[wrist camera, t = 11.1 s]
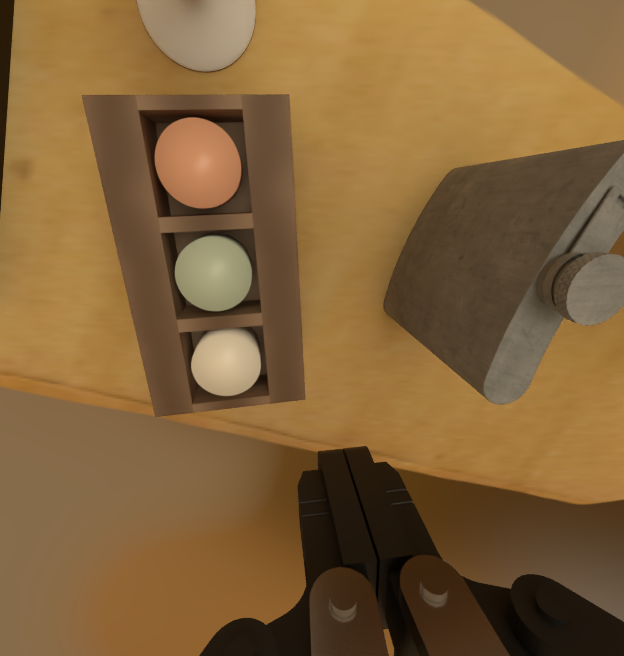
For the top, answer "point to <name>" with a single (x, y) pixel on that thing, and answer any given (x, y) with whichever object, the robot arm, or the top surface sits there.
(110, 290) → the top surface
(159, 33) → the white bowl
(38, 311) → the top surface
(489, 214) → the hip flask
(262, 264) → the three egg wooden crate
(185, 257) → the pale green egg
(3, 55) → the food platter
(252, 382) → the pale beige egg
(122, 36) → the top surface
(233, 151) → the orange brown egg
